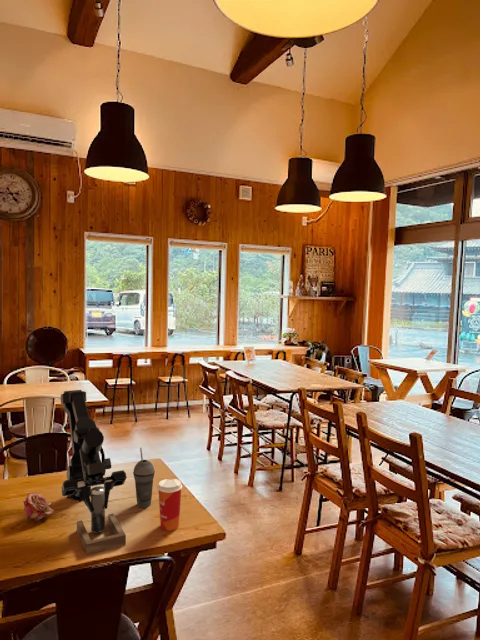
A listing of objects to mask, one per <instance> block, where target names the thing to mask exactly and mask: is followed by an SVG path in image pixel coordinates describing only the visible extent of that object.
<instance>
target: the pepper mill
mask: <svg viewBox="0 0 480 640" xmlns="http://www.w3.org/2000/svg"><path fill="white" fill-rule="evenodd" d="M90 501H91V505H92V512H90V530H91V532H92V533H102V532H104V531H105V530H106V509H105V488H104V486H101V485H97V486H93V487H91V496H90Z"/></svg>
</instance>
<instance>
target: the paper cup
mask: <svg viewBox="0 0 480 640" xmlns="http://www.w3.org/2000/svg"><path fill="white" fill-rule="evenodd" d="M182 488H183V485H182V481H180V479H176V478H168V479H167V478H165V479H162V480H160V481H159V483H158V485H157V490H158V505H159V506H158V507H159V522H160V528H161V530H162V531H165V532H172V531H175V530H177V529H178V528H179V526H180V517H181V513H180V512H181V496H182Z"/></svg>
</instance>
